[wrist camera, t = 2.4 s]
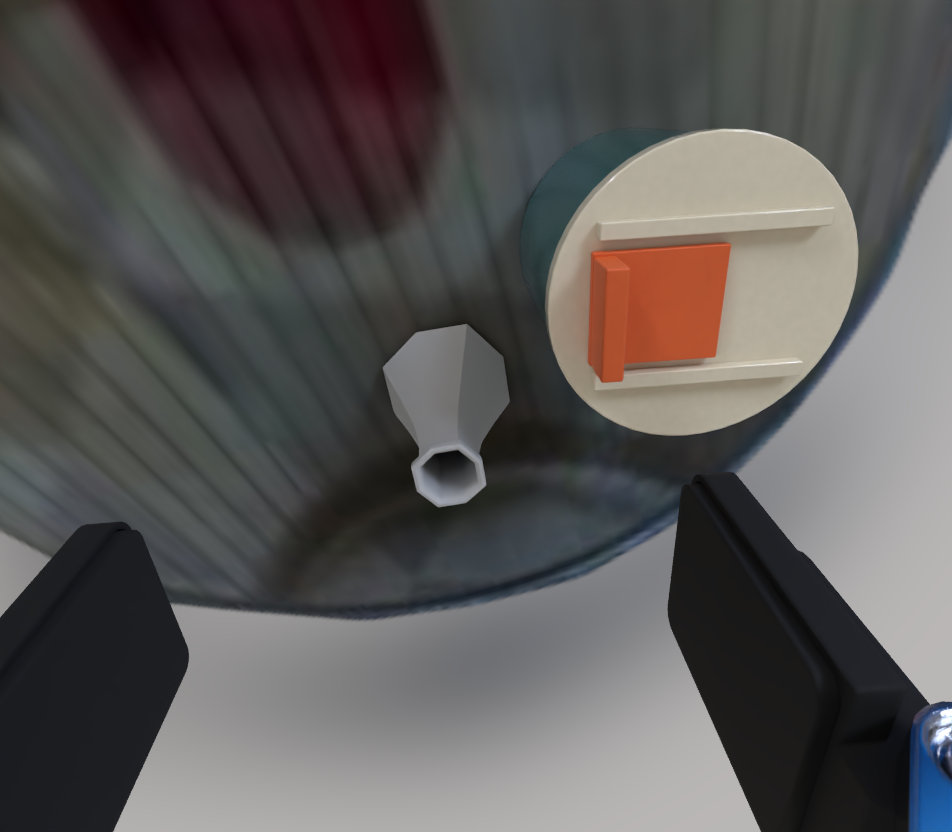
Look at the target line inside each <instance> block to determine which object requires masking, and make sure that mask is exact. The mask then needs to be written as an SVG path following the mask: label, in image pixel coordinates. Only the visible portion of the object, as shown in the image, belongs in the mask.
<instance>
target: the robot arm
mask: <svg viewBox="0 0 952 832" xmlns="http://www.w3.org/2000/svg"><path fill="white" fill-rule="evenodd" d="M668 618H669V622H670V626H671V629H672V632H673V634H674V636H675V638H676V640H677V643H678V645H679V647H680V649H681V652H682V654H683V656H684V659H685V661H686V663H687V665H688V668H689V670H690V672H691V674H692V677H693V679H694V681H695V683H696V686H697V688H698V690H699V693H700V695H701V697H702V699H703V702H704V704H705V706H706V708H707V710H708V713H709V715H710V717H711V720H712V722H713V724H714V726H715V729H716V731H717V733H718V735H719V737H720V740H721V742H722V744H723V747H724V749H725V751H726V754H727V755H728V758H729V760H730V763H731V765H732V767H733V769H734V772H735V774H736V776H737V778H738V781H739V783H740V785H741V787H742V789H743V792H744V794H745V796H746V799H747V801H748V803H749V805H750V808H751V810H752V812H753V814H754V817H755V819H756V821H757V824H758V826H759V828H760V830H761V832H952V702H939V703H935V704H931V705H930V704H929V703H928V702H927V700H926V699H925V698H924V697H923V695H922V694H921V693H920V692H919V691H918V689H917V688H916V687H915V686H914V684H913V683H912V682H911V681H910V680H909V678H908V677H907V676H906V675H905V674H904V672H903V671H902V670H901V669H900V667H899V666H898V665H897V664H896V663H895V661H894V660H893V659H892V658H891V657H890V655H889V654H888V653H887V652H886V650H885V649H884V648H883V647H882V646H881V644H880V643H879V642H878V641H877V639H876V638H875V637H874V636H873V635H872V633H871V632H870V631H869V630H868V629H867V627H866V626H865V625H864V624H863V622H862V621H861V620H860V619H859V618H858V616H857V615H856V614H855V613H854V611H853V610H852V609H851V608H850V607H849V605H848V604H847V603H846V602H845V601H844V599H843V598H842V597H841V596H840V594H839V593H838V592H837V591H836V590H835V589H834V587H833V586H832V585H831V584H830V582H829V581H828V580H827V579H826V578H825V576H824V575H823V574H822V573H821V571H820V570H819V569H818V568H817V567H816V565H815V564H814V563H813V562H812V561H811V559H810V558H808V557H807V556H806V555H805V554H804V553H803V552H800V551H798V550H797V549H796V548H795V547H794V546H793V544H792V543H791V542H790V541H789V539H788V538H787V537H786V536H785V534H784V533H783V532H782V531H781V529H779V527H778V526H777V525H776V523H775V522H774V521H773V520H772V519H771V517H770V516H769V515H768V513H767V512H766V511H765V510H764V508H763V507H762V506H761V505H760V503H759V502H758V501H757V500H756V499H755V497H754V496H753V495H752V494H751V492H750V491H749V490H748V489H747V488H746V486H745V485H744V484H743V482H742V481H741V480H740V479H739V478H738V476H737V475H735V474H734V473H732V472H724V473H712V474H700V475H696V476H694V478H693V480H692V484H688V485H684V486H683V488H682V491H681V498H680V507H679V515H678V523H677V532H676V540H675V549H674V557H673V566H672V574H671V583H670V592H669V600H668ZM188 662H189V652H188V647H187V644H186V642H185V639H184V637H183V635H182V632H181V630H180V628H179V625H178V622H177V620H176V618H175V615H174V613H173V610H172V608H171V605H170V603H169V600H168V598H167V595H166V593H165V590H164V588H163V586H162V583H161V581H160V578H159V576H158V573H157V571H156V568H155V566H154V564H153V561H152V559H151V556H150V554H149V551H148V549H147V546H146V544H145V541H144V539H143V537H142V535H141V533H140V532H138V531H137V530H131V528H130V526H129V525H127V524H126V523H124V522H111V523H99V524H87V525H83V526H81V527H80V528H78V529H77V530H76V531H75V532H74V533H73V535H72V536H71V537H70V538H69V539H68V540H67V541H66V543H65V544H64V545H63V546H62V547H61V548H60V550H59V551H58V552H57V553H56V554H55V555H54V556H53V558H52V559H51V560H50V561H49V562H48V563H47V564H46V566H45V567H44V568H43V569H42V570H41V571H40V573H39V574H38V575H37V576H36V577H35V578H34V579H33V581H32V582H31V583H30V584H29V585H28V586H27V587H26V589H25V590H24V591H23V592H22V593H21V594H20V596H19V597H18V598H17V599H16V600H15V601H14V602H13V604H12V605H11V606H10V607H9V608H8V609H7V610H6V611H5V613H4V614H3V615H2V616H1V617H0V832H113V831H114V828H115V826H116V824H117V822H118V820H119V817H120V815H121V813H122V811H123V809H124V806H125V804H126V802H127V800H128V798H129V795H130V793H131V791H132V789H133V787H134V785H135V782H136V780H137V778H138V776H139V774H140V771H141V769H142V767H143V765H144V763H145V760H146V758H147V756H148V754H149V752H150V750H151V747H152V745H153V743H154V741H155V739H156V736H157V734H158V732H159V730H160V728H161V725H162V723H163V721H164V719H165V717H166V714H167V712H168V710H169V708H170V706H171V703H172V701H173V699H174V697H175V695H176V693H177V690H178V688H179V686H180V684H181V682H182V679H183V677H184V675H185V673H186V670H187V667H188Z"/></svg>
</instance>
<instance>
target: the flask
mask: <svg viewBox="0 0 952 832" xmlns="http://www.w3.org/2000/svg"><path fill="white" fill-rule="evenodd" d="M383 372H384V375H385V379H386V383H387V387H388V391H389V395H390V399H391V403H392V407H393V411H394V413H395V415H396V416H397V417H398V419H399V420H400V421H401V422H402V424H403V425H404V426H405V427H406V429H407V430H408V431H409V433H410V434H411V436H412V437H413V439H414V440H415V442H416V443H417V445H418V446H419V457H418V458H416V459H415V460H414V461H413V462H412V464H411V469H412V473H413V477H414V481H415V485H416V489H417V492H419V493H420V494H421V495H423V496H424V497H425V498H427V499H428V500H429V501H431V502H432V503H433V504H435V505H436V506H437V507H443V506H449V505H456V504H462V503H467V502H468V501H469V500H470V499H471V498H472V497H473V496H475V495H476V494H477V493H478V492H479V491H480V490H481V489H483V488H484V487H485V486H486V479H485V474H484V468H483V462H482V458H481V456H480V455H479V451H480V448H481V444H482V441H483V440H484V438H485V436H486V435H487V433H488V432H489V430H490V429H491V427H492V426H493V424H494V422H495V421H496V420H497V418H498V417H499V416H500V415H501V413H502V412H503V411H504V409H505V408H506V407H507V405H508V403H509V402H510V399H509V392H508V385H507V379H506V372H505V365H504V358H503V356H502V355H501V354H500V353H498V352H497V351H496V350H495V349H494V348H493V347H492V346H491V345H490V344H489V343H487V342H486V341H485V340H484V339H483V338H482V337H481V336H480V335H479V334H478V333H476V332H475V331H474V330H473V329H472V328H471V327H470V326H469V325H468V324H463V325H457V326H451V327H445V328H440V329H434V330H428V331H422V332H416V333H415V334H414V335H413V336H412V337H411V338H410V339H409V340H408V341H407V342H406V343H405V345H404V346H403V347H402V348H401V349H400V350H399V351H398V352H397V353H396V354H395V355H394V356H393V357H392V358H391V359H390V360H389V361H388V362H387V363H386V364H385V365H384V367H383Z"/></svg>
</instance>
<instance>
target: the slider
mask: <svg viewBox="0 0 952 832" xmlns="http://www.w3.org/2000/svg"><path fill="white" fill-rule="evenodd" d="M730 250H731V244H729V243H727V242H723V243H708V244H694V245H680V246H665V247H651V248H637V249H622V250H608V251H594V252H591V273H590V305H589V336H588V364H589V366H592V367H593V369H594V370H595V372H596V374H597V376H598V377H599V379H600V381H601V382H602V383H609V382H621V381H623V378H624V364H630V363H644V362H657V361H671V360H684V359H698V358H712V357H716V351H717V343H718V336H719V329H720V322H721V315H722V307H723V300H724V293H725V286H726V278H727V271H728V264H729V257H730Z"/></svg>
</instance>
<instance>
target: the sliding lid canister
mask: <svg viewBox="0 0 952 832" xmlns="http://www.w3.org/2000/svg"><path fill="white" fill-rule="evenodd" d="M723 242H727V243H729V244H731V250H730V257H729V264H728V271H727V278H726V286H725V293H724V300H723V307H722V315H721V322H720V329H719V336H718V343H717V351H716V357H712V358H698V359H684V360H671V361H657V362H644V363H630V364H624V378H623V381H621V382H609V383H602V382H601V381H600V379H599V377H598V376H597V374H596V372H595V370H594V369H593V367H592V366H589V364H588V336H589V305H590V273H591V252H594V251H608V250H622V249H637V248H651V247H665V246H680V245H694V244H708V243H723ZM519 251H520V262H521V268H522V272H523V277H524V280H525V282H526V285H527V288H528V290H529V292H530V294H531V296H532V299H533V301H534V303H535V305H536V307H537V309H538V311H539V313H540V315H541V317H542V319H543V321H544V323H545V325H546V328H547V331H548V335H549V340H550V344H551V347H552V350H553V352H554V355H555V358H556V360H557V362H558V365H559V367H560V368H561V370H562V372H563V374H564V376H565V378H566V379H567V381H568V382H569V384H570V385H571V386H572V388H573V389H574V390H575V392H576V393H577V394H578V395H579V396H580V397H581V398H582V399H583V400H584V401H585V402H586V403H587V404H588V405H589V406H590V407H591V408H593V409H594V410H595V411H597V412H598V413H599V414H601V415H602V416H604V417H606V418H607V419H609V420H611V421H613V422H615V423H617V424H619V425H622V426H625V427H627V428H630V429H633V430H636V431H641V432H645V433H649V434H658V435H668V436H670V435H691V434H699V433H705V432H709V431H713V430H717V429H721V428H724V427H727V426H730V425H733V424H735V423H738V422H740V421H743V420H745V419H747V418H749V417H751V416H753V415H755V414H757V413H759V412H760V411H762V410H764V409H765V408H767V407H769V406H770V405H772V404H773V403H775V402H776V401H777V400H779V399H780V398H781V397H783V396H784V395H785V394H787V393H788V392H789V391H790V390H792V389H793V388H794V387H795V386H796V385H797V384H798V383H799V382H800V381H801V380H802V379H803V378H804V377H805V376H806V375H807V374H808V373H809V372H810V371H811V370H812V368H813V367H814V366H815V365H816V364H817V363H818V362H819V360H820V359H821V357H822V356H823V355H824V353H825V352H826V350H827V349H828V348H829V346H830V345H831V343H832V341H833V339H834V338H835V336H836V334H837V332H838V331H839V329H840V327H841V324H842V322H843V320H844V318H845V315H846V313H847V311H848V308H849V305H850V301H851V298H852V295H853V291H854V287H855V281H856V275H857V269H858V241H857V231H856V226H855V222H854V218H853V214H852V211H851V208H850V206H849V204H848V201H847V199H846V197H845V194H844V192H843V191H842V189H841V187H840V186H839V184H838V183H837V181H836V180H835V178H834V176H833V175H832V174H831V173H830V172H829V171H828V170H827V168H826V167H825V166H824V165H823V164H822V163H821V162H820V161H819V160H818V159H816V158H815V157H814V156H813V155H811V154H810V153H809V152H807V151H806V150H805V149H803V148H801V147H800V146H798V145H796V144H794V143H792V142H790V141H788V140H786V139H784V138H781V137H778V136H775V135H772V134H769V133H766V132H759V131H753V130H747V129H723V128H714V129H707V130H699V131H692V132H689V131H677V130H664V129H652V128H624V129H617V130H612V131H609V132H605V133H602V134H599V135H597V136H594V137H592V138H590V139H588V140H586V141H584V142H582V143H581V144H579V145H577V146H576V147H574V148H572V149H571V150H570V151H569V152H567V153H566V154H565V155H564V156H562V157H561V158H560V159H559V160H558V161H557V162H556V163H555V164H554V165H553V166H552V167H551V168H550V169H549V171H548V172H547V173H546V175H545V176H544V177H543V178H542V180H541V181H540V183H539V184H538V186H537V188H536V189H535V191H534V193H533V195H532V197H531V199H530V202H529V204H528V206H527V209H526V212H525V215H524V219H523V222H522V228H521V234H520V249H519Z"/></svg>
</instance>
